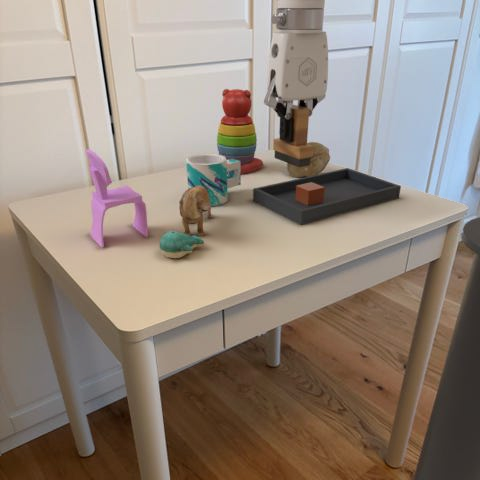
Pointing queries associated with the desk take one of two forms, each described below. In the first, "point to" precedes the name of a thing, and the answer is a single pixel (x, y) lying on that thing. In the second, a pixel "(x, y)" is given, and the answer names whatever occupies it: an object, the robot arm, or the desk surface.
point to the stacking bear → (238, 131)
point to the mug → (213, 175)
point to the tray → (327, 195)
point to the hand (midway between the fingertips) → (293, 139)
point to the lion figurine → (195, 208)
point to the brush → (296, 141)
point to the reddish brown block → (309, 193)
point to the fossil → (312, 162)
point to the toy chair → (111, 199)
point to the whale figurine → (178, 244)
